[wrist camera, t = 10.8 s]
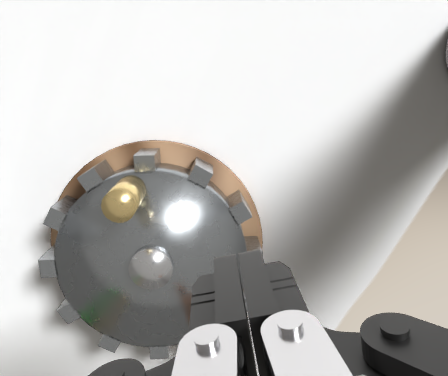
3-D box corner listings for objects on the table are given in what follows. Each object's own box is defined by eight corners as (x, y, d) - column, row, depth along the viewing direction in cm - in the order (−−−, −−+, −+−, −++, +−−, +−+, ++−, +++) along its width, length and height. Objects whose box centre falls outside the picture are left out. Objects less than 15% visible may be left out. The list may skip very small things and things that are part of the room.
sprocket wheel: (60, 133, 36) (12, 148, 27) (273, 164, 37) (293, 188, 29) (51, 322, 41) (9, 386, 32) (239, 343, 43) (247, 408, 34)
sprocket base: (229, 113, 37) (238, 123, 27) (287, 320, 44) (312, 395, 33) (20, 175, 38) (-52, 209, 28) (107, 370, 44) (75, 458, 34)
